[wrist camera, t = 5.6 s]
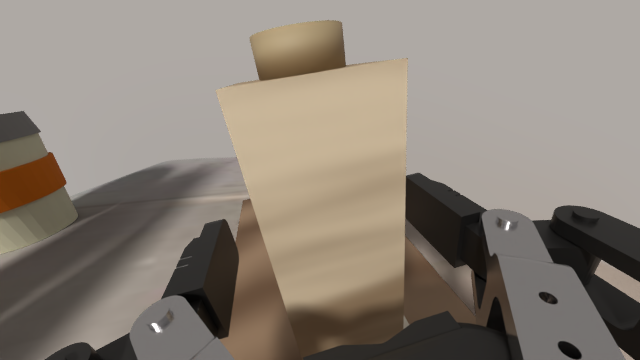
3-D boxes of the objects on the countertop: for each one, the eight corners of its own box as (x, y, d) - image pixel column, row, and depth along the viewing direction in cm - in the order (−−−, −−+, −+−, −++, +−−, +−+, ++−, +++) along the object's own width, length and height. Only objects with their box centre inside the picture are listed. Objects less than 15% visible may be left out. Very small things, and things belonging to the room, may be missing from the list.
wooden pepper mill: (402, 377, 11) (408, 0, 5) (317, 407, 10) (195, 29, 4) (368, 301, 14) (345, 33, 8) (303, 320, 14) (228, 50, 8)
